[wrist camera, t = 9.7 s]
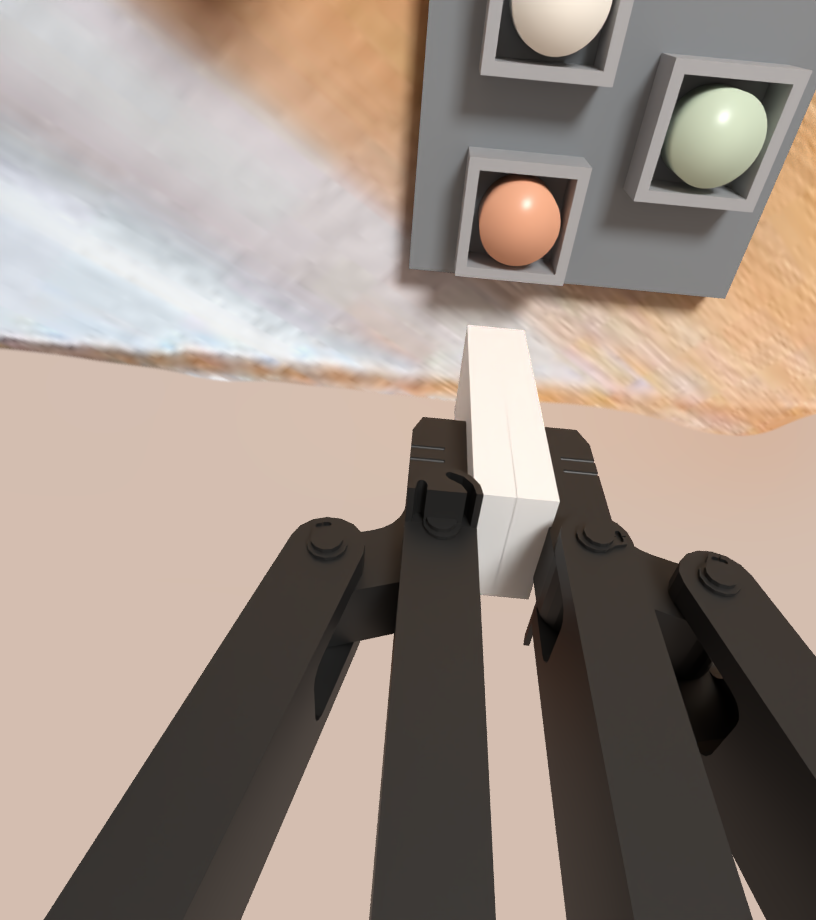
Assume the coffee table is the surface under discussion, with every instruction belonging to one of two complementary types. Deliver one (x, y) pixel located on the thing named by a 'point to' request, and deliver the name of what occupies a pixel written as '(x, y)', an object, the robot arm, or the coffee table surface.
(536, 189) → the terracotta button
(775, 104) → the panel
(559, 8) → the cream button
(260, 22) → the coffee table surface
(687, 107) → the sage button
